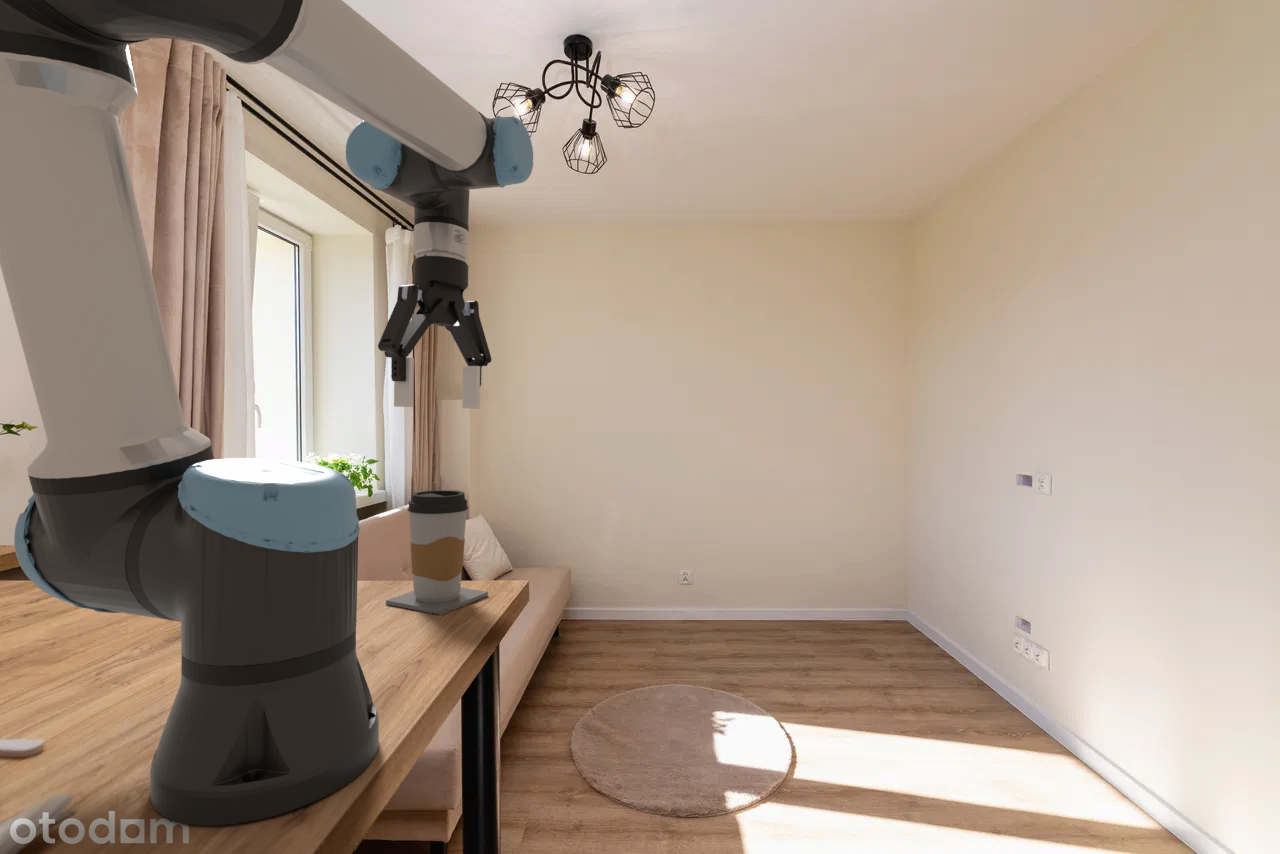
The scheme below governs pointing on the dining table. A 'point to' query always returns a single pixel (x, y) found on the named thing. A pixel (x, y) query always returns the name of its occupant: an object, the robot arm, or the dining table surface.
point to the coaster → (437, 607)
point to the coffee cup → (437, 543)
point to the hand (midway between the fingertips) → (439, 408)
